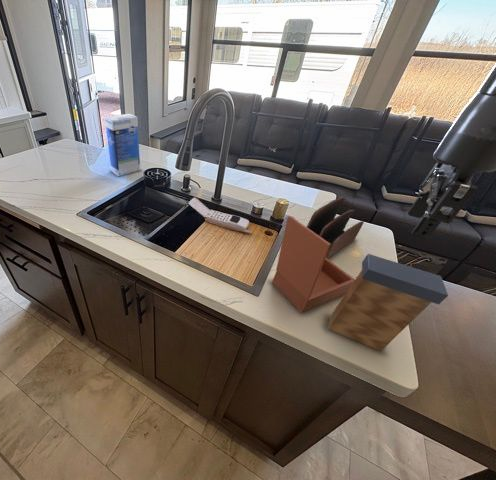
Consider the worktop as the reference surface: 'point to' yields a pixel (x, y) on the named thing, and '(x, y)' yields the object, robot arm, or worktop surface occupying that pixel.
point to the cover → (301, 256)
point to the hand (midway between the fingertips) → (415, 225)
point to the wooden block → (374, 313)
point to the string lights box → (123, 143)
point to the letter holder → (334, 226)
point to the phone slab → (404, 278)
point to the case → (317, 287)
